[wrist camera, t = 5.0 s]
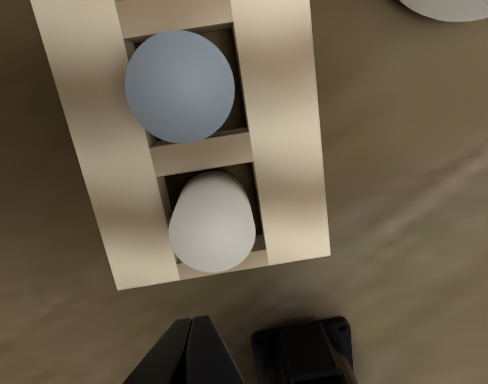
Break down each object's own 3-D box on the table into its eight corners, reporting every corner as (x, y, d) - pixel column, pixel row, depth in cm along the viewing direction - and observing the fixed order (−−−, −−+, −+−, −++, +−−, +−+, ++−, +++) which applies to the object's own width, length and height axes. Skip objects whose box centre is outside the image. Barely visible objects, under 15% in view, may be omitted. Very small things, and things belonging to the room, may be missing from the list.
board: (321, 239, 22) (330, 255, 20) (126, 271, 21) (117, 290, 20) (283, -170, 16) (292, -204, 14) (12, -129, 15) (-18, -159, 13)
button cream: (253, 231, 21) (260, 265, 17) (186, 242, 21) (178, 278, 17) (243, 165, 19) (248, 186, 16) (171, 177, 19) (159, 200, 16)
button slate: (237, 123, 17) (242, 134, 14) (157, 135, 17) (139, 151, 14) (224, 35, 16) (224, 21, 12) (138, 49, 16) (112, 39, 12)
